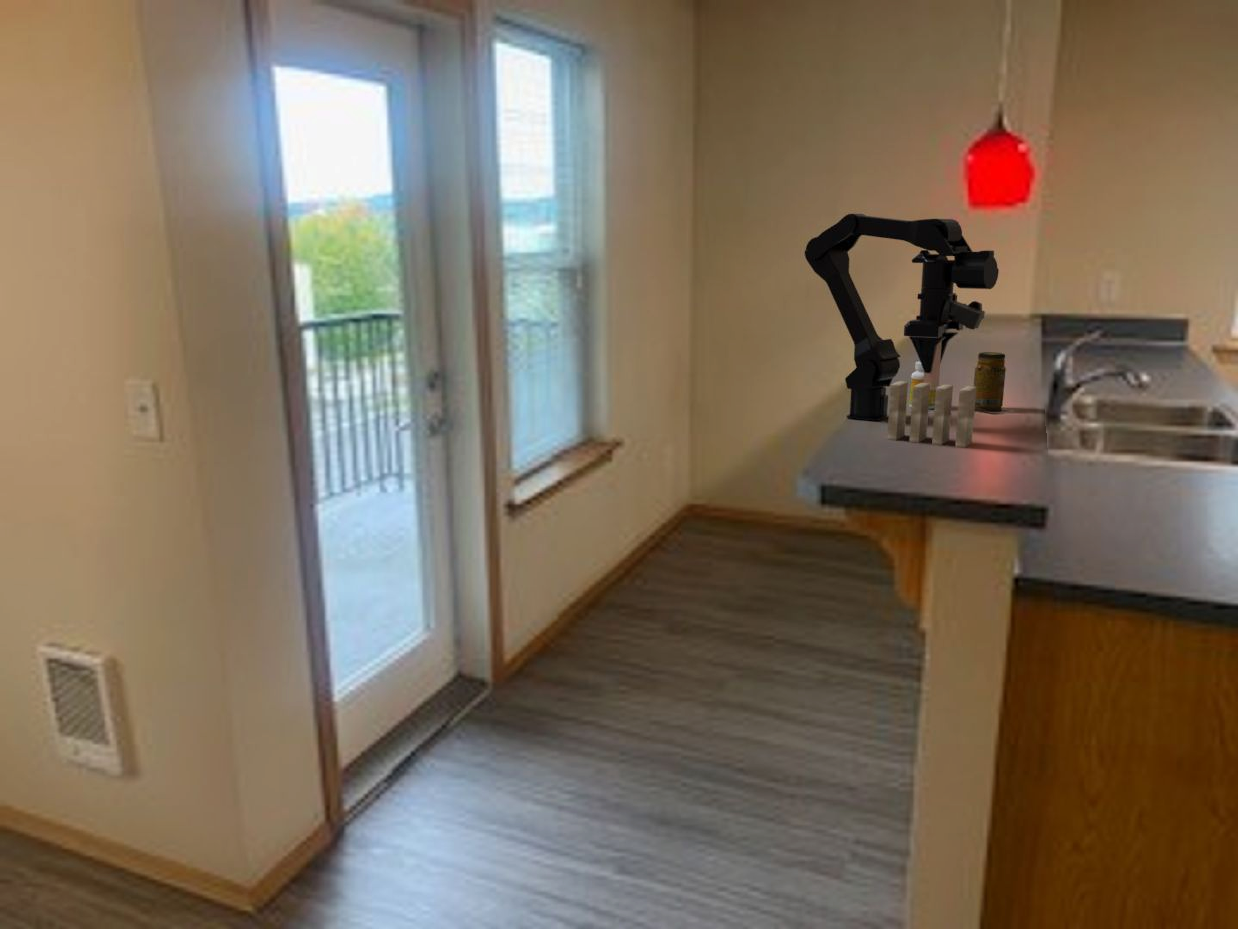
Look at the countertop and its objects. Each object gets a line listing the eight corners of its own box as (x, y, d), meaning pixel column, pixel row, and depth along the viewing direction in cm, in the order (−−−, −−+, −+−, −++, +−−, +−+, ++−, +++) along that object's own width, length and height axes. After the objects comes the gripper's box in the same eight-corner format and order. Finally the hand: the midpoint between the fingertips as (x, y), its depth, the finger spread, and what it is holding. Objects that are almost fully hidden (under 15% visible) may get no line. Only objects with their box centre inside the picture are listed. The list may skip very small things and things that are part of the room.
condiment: (986, 405, 200) (991, 350, 198) (1018, 411, 193) (1023, 354, 190) (961, 408, 197) (965, 352, 194) (992, 414, 190) (997, 356, 187)
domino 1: (887, 439, 167) (890, 384, 165) (895, 434, 171) (899, 381, 169) (896, 440, 166) (899, 385, 164) (904, 435, 170) (907, 381, 168)
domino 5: (955, 446, 161) (959, 390, 158) (962, 441, 165) (966, 386, 162) (964, 447, 160) (969, 390, 158) (971, 442, 164) (976, 386, 162)
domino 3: (922, 388, 175) (926, 335, 172) (930, 385, 179) (933, 333, 176) (931, 389, 174) (935, 335, 172) (938, 385, 178) (942, 333, 176)
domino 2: (909, 441, 165) (913, 386, 163) (917, 436, 169) (921, 382, 167) (918, 442, 164) (922, 387, 162) (926, 437, 168) (930, 383, 166)
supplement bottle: (905, 405, 201) (908, 361, 199) (929, 404, 202) (932, 360, 200) (915, 409, 196) (918, 364, 194) (939, 409, 197) (942, 363, 194)
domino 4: (932, 444, 163) (936, 388, 161) (939, 439, 167) (943, 384, 165) (941, 445, 162) (945, 388, 160) (948, 440, 166) (953, 385, 164)
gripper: (969, 290, 160) (962, 380, 164) (993, 286, 175) (987, 368, 179) (905, 289, 166) (900, 376, 170) (934, 285, 181) (929, 364, 185)
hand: (931, 371), depth 176 cm, fingers closed on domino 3, 5 cm apart
